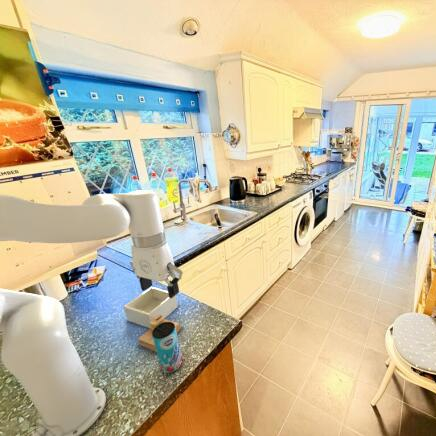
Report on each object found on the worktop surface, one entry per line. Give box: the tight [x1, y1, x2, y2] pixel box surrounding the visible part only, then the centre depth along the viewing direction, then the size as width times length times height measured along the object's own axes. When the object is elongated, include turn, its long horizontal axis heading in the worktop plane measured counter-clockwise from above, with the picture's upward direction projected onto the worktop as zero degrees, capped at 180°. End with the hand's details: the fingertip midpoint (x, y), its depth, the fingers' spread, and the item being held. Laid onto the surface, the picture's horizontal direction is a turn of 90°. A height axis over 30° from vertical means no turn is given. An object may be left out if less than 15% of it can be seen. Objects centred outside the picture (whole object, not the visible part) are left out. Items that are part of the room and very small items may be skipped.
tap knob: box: [150, 315, 164, 331], centre depth 81 cm, size 4×4×5 cm
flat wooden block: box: [137, 318, 181, 353], centre depth 83 cm, size 10×8×3 cm
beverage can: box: [152, 322, 183, 375], centre depth 71 cm, size 6×6×15 cm
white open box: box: [123, 286, 179, 329], centre depth 93 cm, size 13×13×7 cm
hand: (160, 291), depth 68 cm, fingers open, 9 cm apart
